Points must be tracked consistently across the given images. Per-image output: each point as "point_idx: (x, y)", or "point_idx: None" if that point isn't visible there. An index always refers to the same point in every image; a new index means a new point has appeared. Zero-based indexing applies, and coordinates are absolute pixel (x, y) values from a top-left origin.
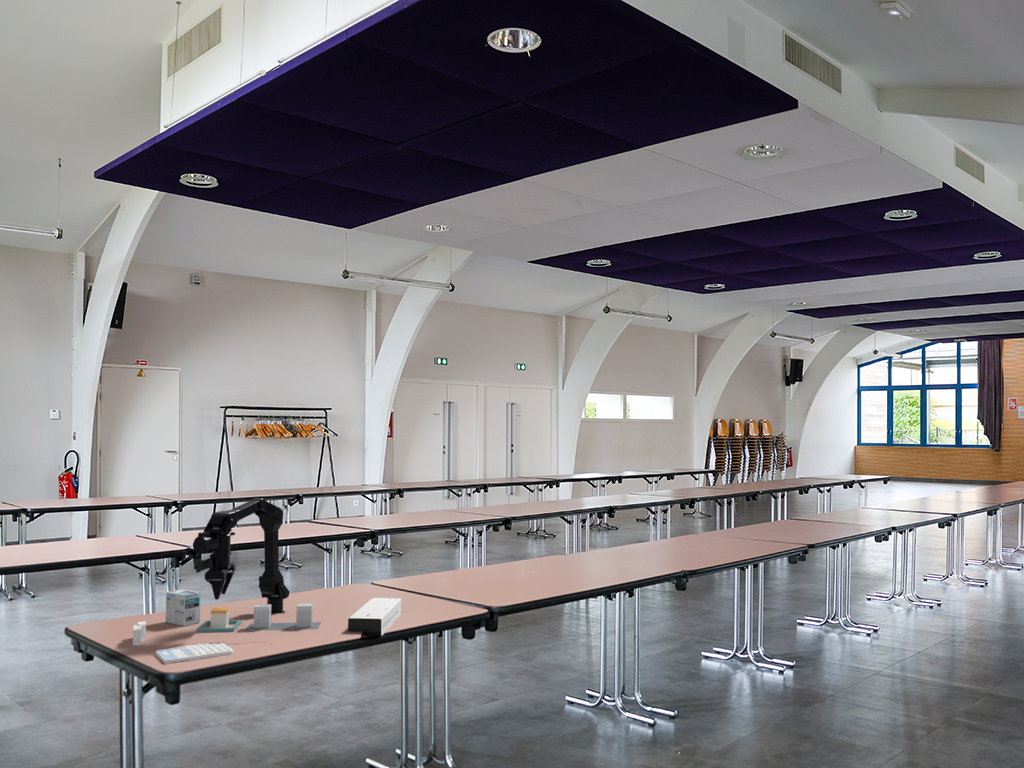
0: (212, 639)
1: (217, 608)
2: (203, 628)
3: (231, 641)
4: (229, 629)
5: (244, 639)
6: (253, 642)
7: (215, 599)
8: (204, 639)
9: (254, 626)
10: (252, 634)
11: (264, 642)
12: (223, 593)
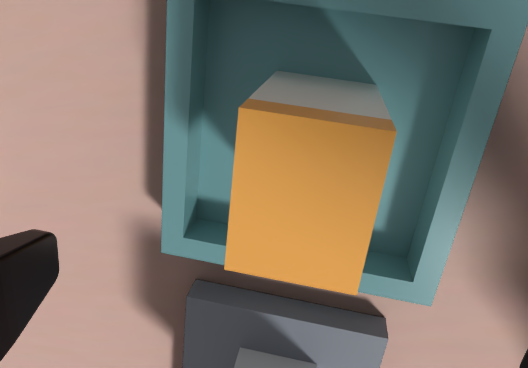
0: (106, 100)
1: (346, 177)
2: (183, 23)
3: (55, 214)
4: (165, 221)
5: (97, 278)
6: (35, 314)
7: (39, 233)
8: (110, 43)
9: (236, 359)
10: None
11: (36, 356)
12: (526, 362)
